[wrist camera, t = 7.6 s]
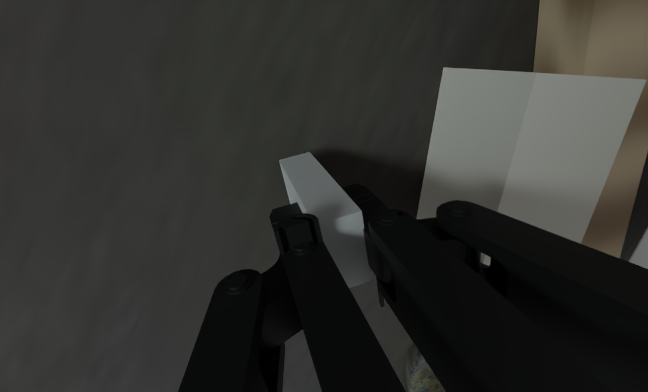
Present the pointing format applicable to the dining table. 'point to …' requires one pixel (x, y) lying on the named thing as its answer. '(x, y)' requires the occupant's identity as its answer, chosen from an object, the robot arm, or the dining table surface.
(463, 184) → the block
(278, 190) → the dining table surface
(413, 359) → the crumpled grey lump
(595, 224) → the batten
